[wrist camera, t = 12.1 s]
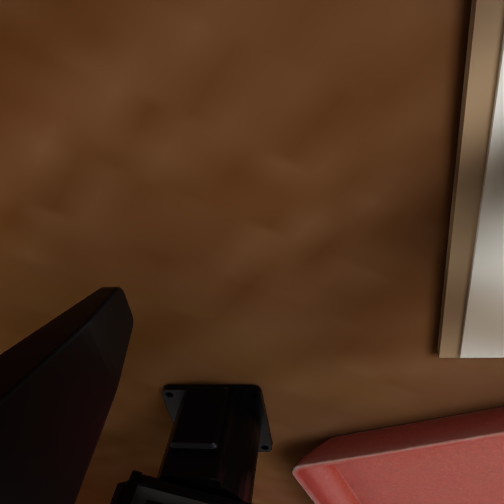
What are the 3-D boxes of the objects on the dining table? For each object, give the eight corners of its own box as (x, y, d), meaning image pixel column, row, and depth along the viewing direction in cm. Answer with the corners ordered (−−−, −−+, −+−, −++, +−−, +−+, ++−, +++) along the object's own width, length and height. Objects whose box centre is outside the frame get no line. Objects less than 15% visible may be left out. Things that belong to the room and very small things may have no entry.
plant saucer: (620, 526, 33) (647, 578, 31) (376, 546, 40) (380, 591, 37) (592, 363, 25) (624, 415, 22) (289, 422, 31) (286, 468, 29)
